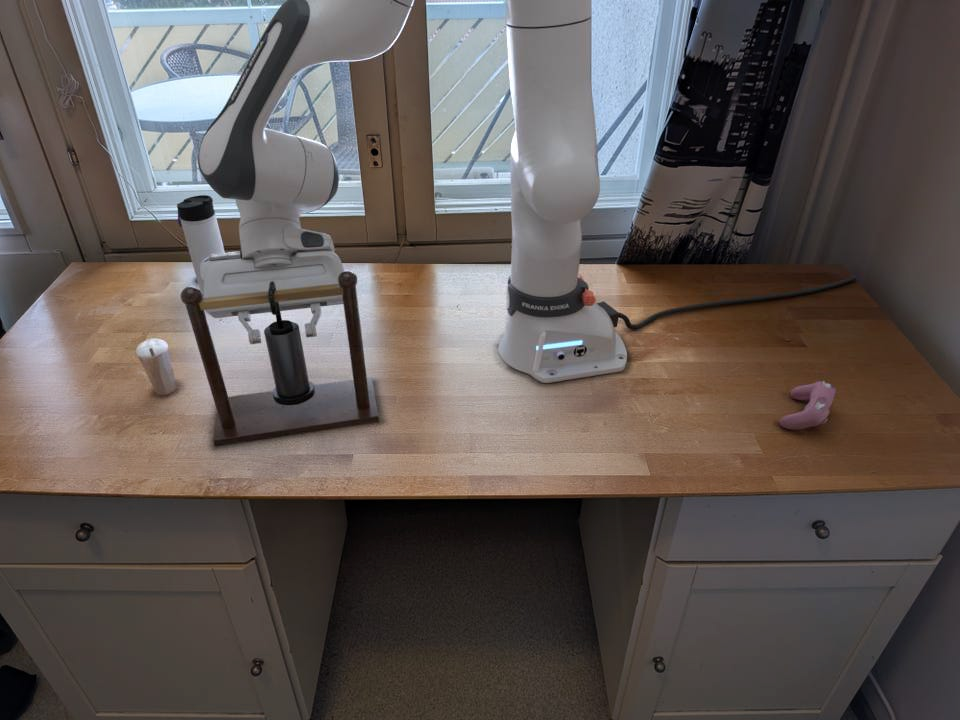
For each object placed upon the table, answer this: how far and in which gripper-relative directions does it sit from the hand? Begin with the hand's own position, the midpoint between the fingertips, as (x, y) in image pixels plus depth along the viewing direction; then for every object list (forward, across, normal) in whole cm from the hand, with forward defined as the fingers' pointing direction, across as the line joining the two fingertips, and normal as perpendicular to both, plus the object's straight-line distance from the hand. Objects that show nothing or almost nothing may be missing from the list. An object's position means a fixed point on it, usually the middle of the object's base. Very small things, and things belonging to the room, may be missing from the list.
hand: (283, 339), depth 93 cm
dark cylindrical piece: (+8, 0, +4) cm, 9 cm away
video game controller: (+23, +77, -4) cm, 80 cm away
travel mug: (-20, -15, +39) cm, 46 cm away
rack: (+10, 0, +9) cm, 14 cm away
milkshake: (+2, -21, +17) cm, 27 cm away
